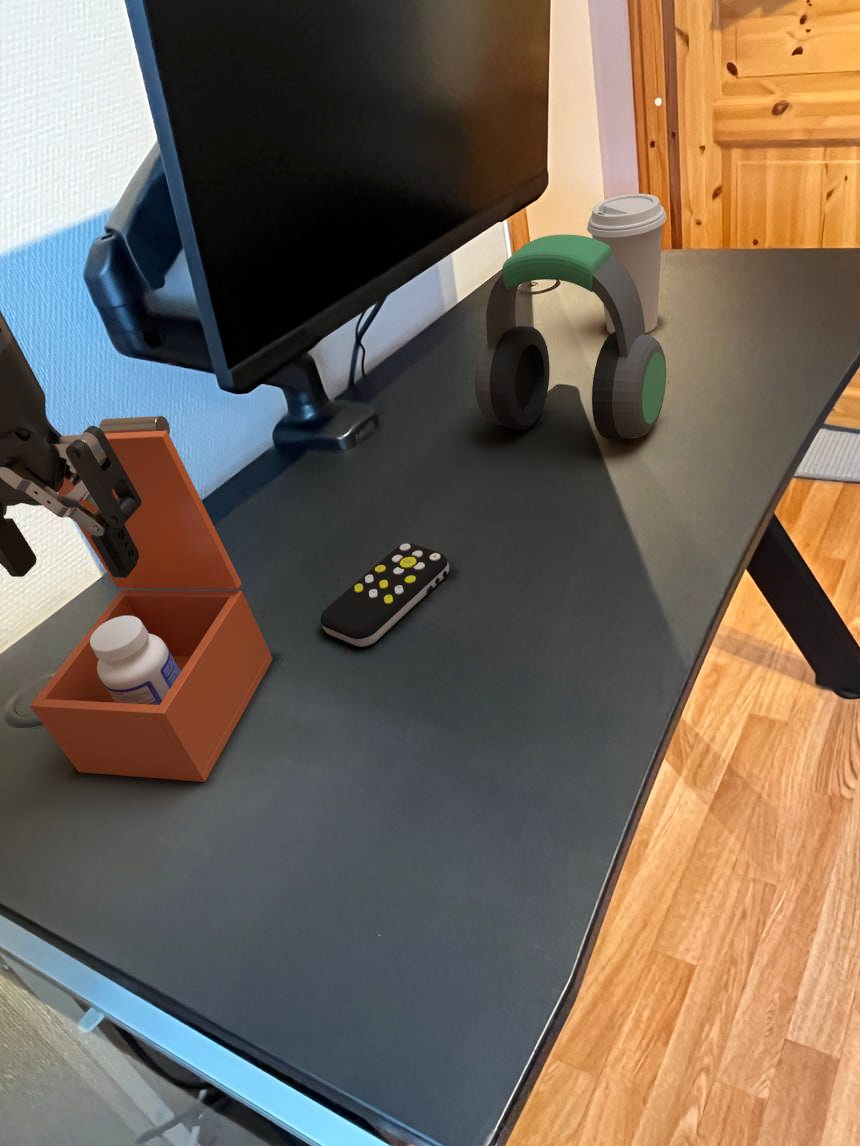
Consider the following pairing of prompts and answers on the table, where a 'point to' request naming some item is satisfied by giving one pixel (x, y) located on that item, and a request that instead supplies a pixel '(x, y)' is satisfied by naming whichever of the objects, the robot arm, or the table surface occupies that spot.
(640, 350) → the headphones
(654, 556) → the table surface
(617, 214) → the coffee cup
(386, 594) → the remote control
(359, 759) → the table surface
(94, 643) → the pill bottle
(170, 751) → the orange lidded box
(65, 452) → the robot arm
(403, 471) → the table surface
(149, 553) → the box lid
